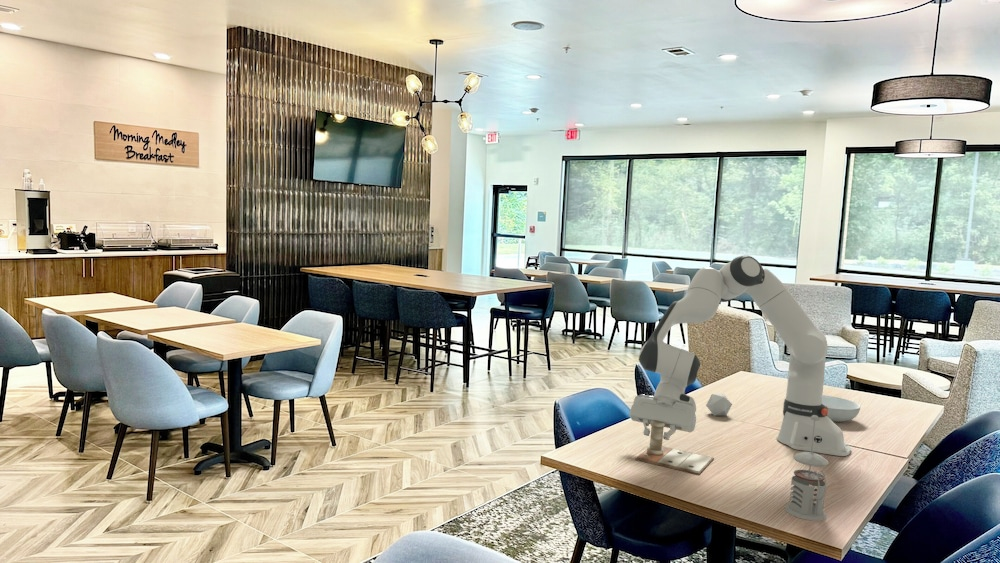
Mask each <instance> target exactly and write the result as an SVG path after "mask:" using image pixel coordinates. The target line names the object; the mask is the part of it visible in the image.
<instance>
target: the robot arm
mask: <svg viewBox="0 0 1000 563" xmlns="http://www.w3.org/2000/svg"><path fill="white" fill-rule="evenodd" d="M686 290H687V291H686V293H685V295H684V296H683V297H682V298H681V299H679V300H674V301H672V303H671V304H670V305H669V306H668V308H667V309H666V311H664V312H665V313H664V314H663V315H662V317H661V319H660V320H659V322H658V324H657V325H656V327H655V328H654V331H653V332H652V333H651V335H650V337H649V338H648V339H647V341H646V342H645V343H644V345H642V346H641V349H640V351H639V355H638V362H639V363H640V366H641V367H642V368H643V369H644V370H645V371H649V372H652V373H656V374H658V375H659V374H660V381H659V383H658V384H657V386H656V388H655V392H654V394H653V395H645V394H643V393H641V394H639V395H636V396H635V398H634V399H633V403H632V405H631V407H630V409H629V413H628V414H629V417H630V419H631V420H632V421H633V422H639V423H643V426H644V429H643V432H642V433H643V436H645V437H646V436H647V437H650V435H651V429H650V428H648V427H649V426H650V425H651V421H658V422H663V423H665V427H664V428H668V429H669V430H668V431H663V440H664V441H669V440H670V438H671V436H672V435H674V434H675V433H676V430H678V431H681V432H686V433H692V432H694V430H695V429H696V423H697V416H696V412H697V404H696V402H695V401H696V400H695V399H694V398H693V397H692V396H690V395H689V394H686V392H685V391H686V388H687V387H688V386H690V385H693V384H694V383H695V382H696V380H697V375H698V372H699V370H700V367H701V362H700V359H699V357H698V356H697V354H696V353H693V352H690V351H688V350H685V349H683V348H679V347H676V346H673V345H671V344H668V343H666V342H665V341H664V340H665V338H666V337H667V335H668V334H669V331H671V330H670V329H671V328H672V327H673V326H675V325H677V324H701V323H705V322H708V321H709V320H711V319H712V318H714V316H715V315H716V314H717V311H718V309H719V306H720V303H726V302H730V301H733V300H735V298H737V297H739V296H741V295H742V294H747V295H748V296H750V297H751V299H752V300H753V302H754V303H755V305H756V306H757V307H758V308H759V310H760V311H761V313H762V314H763V315H764V316H765V318H766V319H767V321H768V322H769V323H770V324H771V325H772V327H773V328H774V330H775V331H776V332H777V334H778V335H779V338H780V339H781V340H782V341H783V343H784V345H785V346H786V348H788V350H789V351H790V355H789V364H788V372H787V382H786V395H785V398H784V401H783V406H782V415H783V416H782V421H781V426H780V429H779V432H778V435H777V437H776V440H777V441H778V442H780V443H781V444H784V445H787V446H789V447H790V448H791V449H794V450H799V451H803V452H811V447H812V437H813V427H814V420H811V416H812V415H816V416H818V417H819V421H815V428H814V438H813V448H812V452H813V453H816V454H825V455H829V456H830V455H832V456H837V457H838V456H839V457H845V456H846V457H847V456H848V455H850V454H851V450H852V449H851V446H850V445H849V444H847V443H846V442H845V438H844V433H843V431H842V429H841V428H840V427H839V426H838V425H837V424H836V422H833V421H832V420H830V419H829V418H828V417H827V414H828V407H827V406H824V405H823V404H822V395H824V382H825V371H826V369H825V367H826V356H827V354H828V350H829V346H828V342H827V341H828V340H827V337H826V335H825V334H824V332H823V331H822V330H820V329H819V328H817V326H816V325H815V324H814V322H813V321H812V320H811V318H810V317H809V316H808V314H807V313H806V312H805V310H804V308H803V307H802V306H801V305H800V304H799V302H798V301H797V300H796V299H795V297H794V295H792V293H791V292H790V290H789V289H788V288H787V287H786V286H785V285H784V283H783V282H782V281H781V280H780V279H779V278H778V277H777V276H776V275H775V274H774V273H773V272H771V271H770V270H769V269H768V268H766V267H763V266H762V265H761V263H760V262H759V261H758V260H757V259H756V258H754V257H753V256H751V255H748V254H743V255H739V256H736V257H735V258H733V259H732V260H731V261H729V262H727V263H725V264H723V265H722V267H721V268H720V269H719V270H718V269H717V268H713V267H710V266H706V267H702V268H700V269H698V270H697V271H696V273H694V275H693V278H692V280H691V281H690V283H689V285H688V287H687V289H686Z"/></svg>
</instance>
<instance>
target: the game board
mask: <svg viewBox="0 0 1000 563" xmlns="http://www.w3.org/2000/svg"><path fill="white" fill-rule="evenodd" d="M662 448H663V449H664V454H663V455H659V456H658V455H651V454H649V453H647V449H645V450H644V451H643V452H642V453H639V455H638V456H637V457H635V458H634V459H635V461H638V460H639V462H642V461H643V462H642V463H646V462H647V463H646V464H651V465H655V466H659V467H663V466H664V468H667V467H668V469H673V470H675V471H676V470H677V471H680V472H681V471H682V472H684V471H685V473H688V474H694V475H697V476H700V475H701V473H702V472H704V470H706V468H707V467H708V466H709V465H710V464H711V463H712V462H713V461H714V459H715V457H713V456H710V455H709V456H708V455H704V454H700V453H695V452H690V451H686V450H683V449H682V450H681V449H677V448H673V447H667V446H665V445H664V446H663V445H662Z"/></svg>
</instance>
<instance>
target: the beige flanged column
mask: <svg viewBox="0 0 1000 563" xmlns="http://www.w3.org/2000/svg"><path fill="white" fill-rule="evenodd" d="M650 427H651V429H650V436H649V437H650V439H649V446H647V447H646V450H647V453H649V454H651V455H658V456H659V455H663V454H664V449H663V448H662V446H663V440H664V438H663V435H664V428H666V427H665V423H663V422H658V421H651V424H650Z"/></svg>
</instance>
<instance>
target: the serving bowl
mask: <svg viewBox="0 0 1000 563" xmlns="http://www.w3.org/2000/svg"><path fill="white" fill-rule="evenodd" d="M822 404H823V405H824V406H827V407H828V414H827V417H828V418H829V419H830V420H832V421H833V422H834V423H840V422H847V421H852V420H854V419H855V418H856V417H857V416H858V414H860V412H861V405H860V404H859V403H857V402H855V401H852V400H849V399H847V398H842V397H838V396H832V395H825V394H822ZM839 421H840V422H839Z"/></svg>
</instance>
